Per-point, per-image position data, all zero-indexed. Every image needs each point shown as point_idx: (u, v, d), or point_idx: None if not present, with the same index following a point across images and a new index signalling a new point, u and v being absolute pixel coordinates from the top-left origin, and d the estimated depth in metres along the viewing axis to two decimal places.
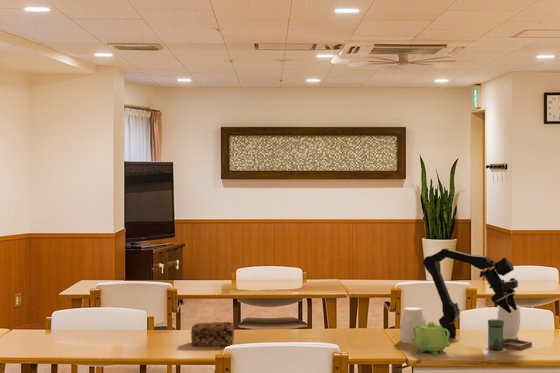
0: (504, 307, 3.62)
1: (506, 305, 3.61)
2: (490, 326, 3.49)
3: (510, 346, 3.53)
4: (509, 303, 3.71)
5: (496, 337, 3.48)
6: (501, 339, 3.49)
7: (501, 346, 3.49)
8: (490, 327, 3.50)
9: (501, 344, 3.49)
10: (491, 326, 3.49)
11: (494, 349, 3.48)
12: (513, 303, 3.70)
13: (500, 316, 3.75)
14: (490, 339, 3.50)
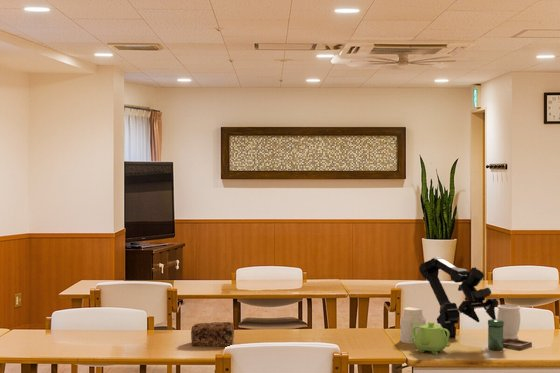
0: (472, 317, 3.56)
1: (473, 314, 3.56)
2: (490, 326, 3.49)
3: (510, 346, 3.53)
4: (490, 314, 3.61)
5: (496, 337, 3.48)
6: (501, 339, 3.49)
7: (501, 346, 3.49)
8: (490, 327, 3.50)
9: (501, 344, 3.49)
10: (491, 326, 3.49)
11: (494, 349, 3.48)
12: (492, 314, 3.60)
13: (500, 316, 3.75)
14: (490, 339, 3.50)
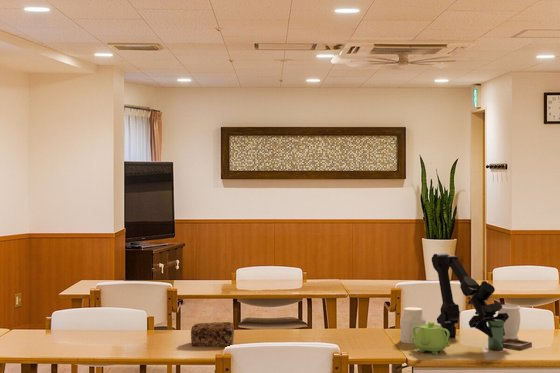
0: (485, 331, 3.50)
1: (486, 329, 3.50)
2: (490, 326, 3.49)
3: (510, 346, 3.53)
4: None
5: (496, 337, 3.48)
6: (501, 339, 3.49)
7: (501, 346, 3.49)
8: (490, 327, 3.50)
9: (501, 344, 3.49)
10: (491, 326, 3.49)
11: (494, 349, 3.48)
12: None
13: None
14: (490, 339, 3.50)
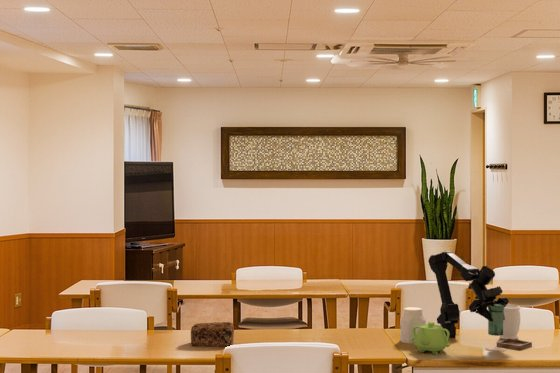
0: (485, 316, 3.50)
1: (486, 313, 3.50)
2: (490, 311, 3.49)
3: (510, 346, 3.53)
4: None
5: (496, 322, 3.48)
6: (501, 324, 3.49)
7: (501, 331, 3.49)
8: (490, 312, 3.49)
9: (501, 329, 3.49)
10: (491, 311, 3.49)
11: (494, 334, 3.48)
12: None
13: None
14: (490, 323, 3.50)
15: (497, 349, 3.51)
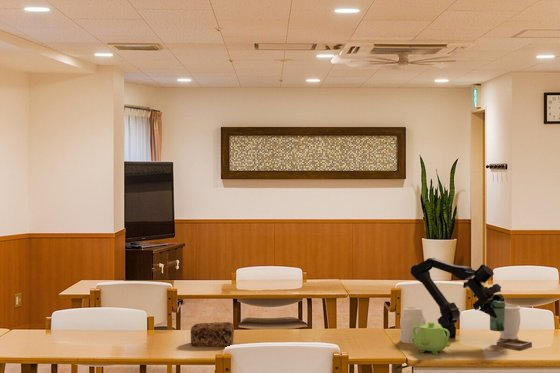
0: (489, 313, 3.61)
1: (490, 310, 3.61)
2: (494, 307, 3.61)
3: (510, 346, 3.53)
4: None
5: (500, 318, 3.61)
6: (504, 319, 3.62)
7: (504, 326, 3.62)
8: (494, 308, 3.61)
9: (504, 324, 3.62)
10: (495, 307, 3.61)
11: (498, 329, 3.61)
12: None
13: None
14: (493, 320, 3.61)
15: (497, 349, 3.51)
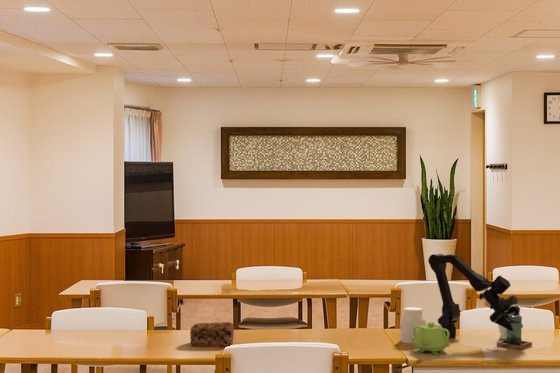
0: (505, 325, 3.55)
1: (506, 323, 3.54)
2: (510, 322, 3.56)
3: (510, 346, 3.53)
4: None
5: (517, 333, 3.55)
6: (520, 334, 3.56)
7: (520, 341, 3.56)
8: (510, 323, 3.56)
9: (520, 339, 3.56)
10: (512, 322, 3.55)
11: (515, 344, 3.55)
12: None
13: None
14: (510, 334, 3.56)
15: (497, 349, 3.51)
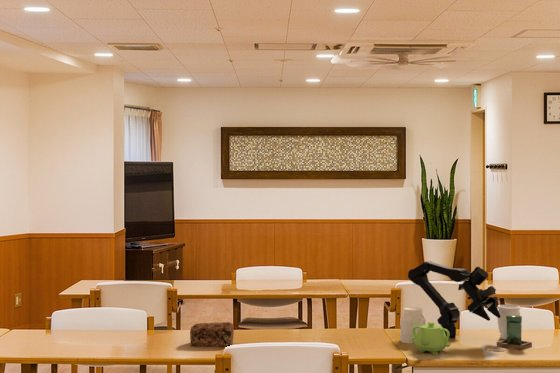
0: (482, 315, 3.62)
1: (483, 313, 3.61)
2: (511, 322, 3.56)
3: (510, 346, 3.53)
4: (492, 312, 3.70)
5: (517, 332, 3.55)
6: (520, 334, 3.56)
7: (520, 341, 3.56)
8: (510, 323, 3.56)
9: (520, 339, 3.56)
10: (512, 322, 3.55)
11: (515, 344, 3.55)
12: (496, 311, 3.68)
13: None
14: (510, 334, 3.56)
15: (497, 349, 3.51)
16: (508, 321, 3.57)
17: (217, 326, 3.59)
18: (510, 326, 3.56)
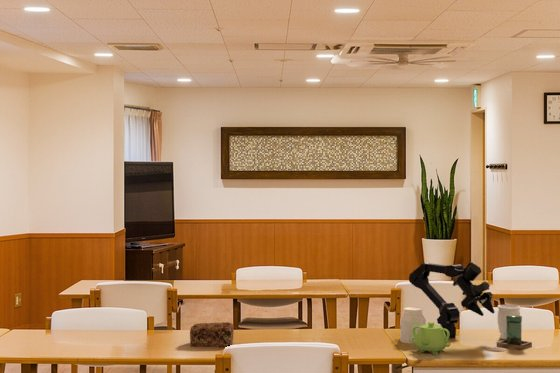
0: (476, 311, 3.62)
1: (477, 308, 3.62)
2: (510, 322, 3.56)
3: (510, 346, 3.53)
4: (487, 307, 3.70)
5: (517, 333, 3.55)
6: (520, 334, 3.56)
7: (520, 341, 3.56)
8: (510, 323, 3.56)
9: (520, 339, 3.56)
10: (512, 322, 3.55)
11: (515, 344, 3.55)
12: (490, 307, 3.68)
13: (500, 316, 3.75)
14: (510, 334, 3.56)
15: (497, 349, 3.51)
16: (508, 321, 3.57)
17: (217, 326, 3.59)
18: (510, 326, 3.56)
